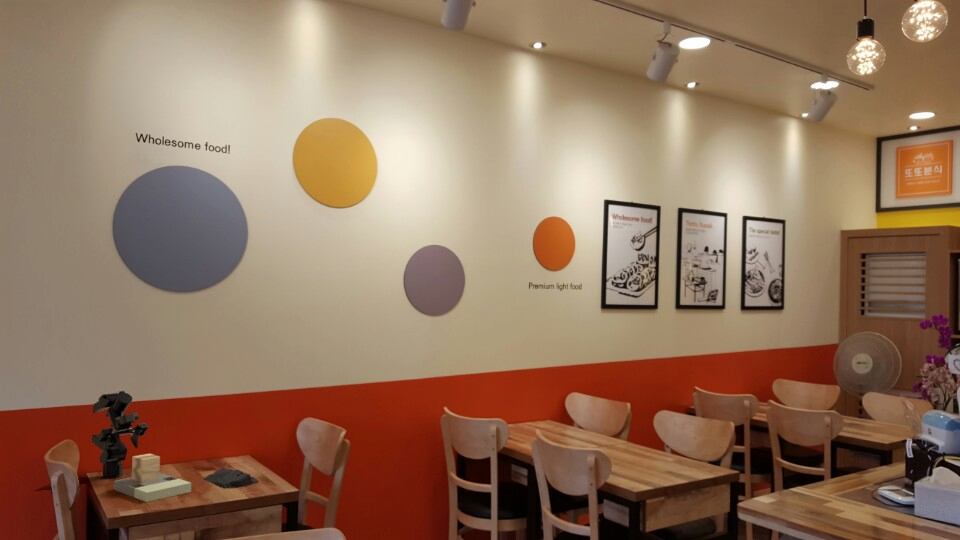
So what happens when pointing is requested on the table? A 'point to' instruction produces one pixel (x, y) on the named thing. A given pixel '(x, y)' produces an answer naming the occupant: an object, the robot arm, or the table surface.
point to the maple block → (145, 468)
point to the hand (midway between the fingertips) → (130, 449)
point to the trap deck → (153, 487)
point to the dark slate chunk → (230, 478)
